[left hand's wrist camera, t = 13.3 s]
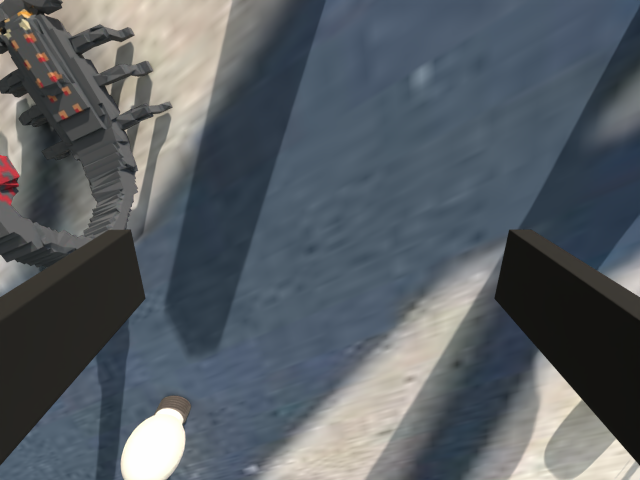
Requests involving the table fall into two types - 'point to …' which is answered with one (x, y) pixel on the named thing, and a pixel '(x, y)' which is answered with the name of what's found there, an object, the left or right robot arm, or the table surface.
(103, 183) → the toy
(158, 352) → the table surface
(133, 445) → the light bulb
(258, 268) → the table surface
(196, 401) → the table surface
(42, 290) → the left robot arm
